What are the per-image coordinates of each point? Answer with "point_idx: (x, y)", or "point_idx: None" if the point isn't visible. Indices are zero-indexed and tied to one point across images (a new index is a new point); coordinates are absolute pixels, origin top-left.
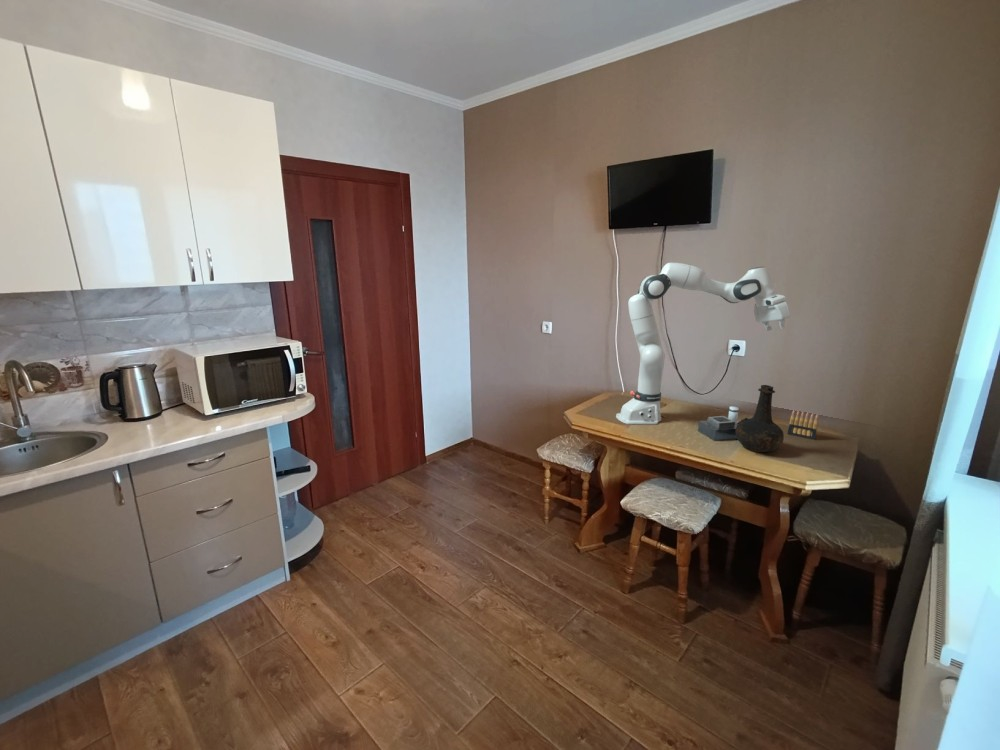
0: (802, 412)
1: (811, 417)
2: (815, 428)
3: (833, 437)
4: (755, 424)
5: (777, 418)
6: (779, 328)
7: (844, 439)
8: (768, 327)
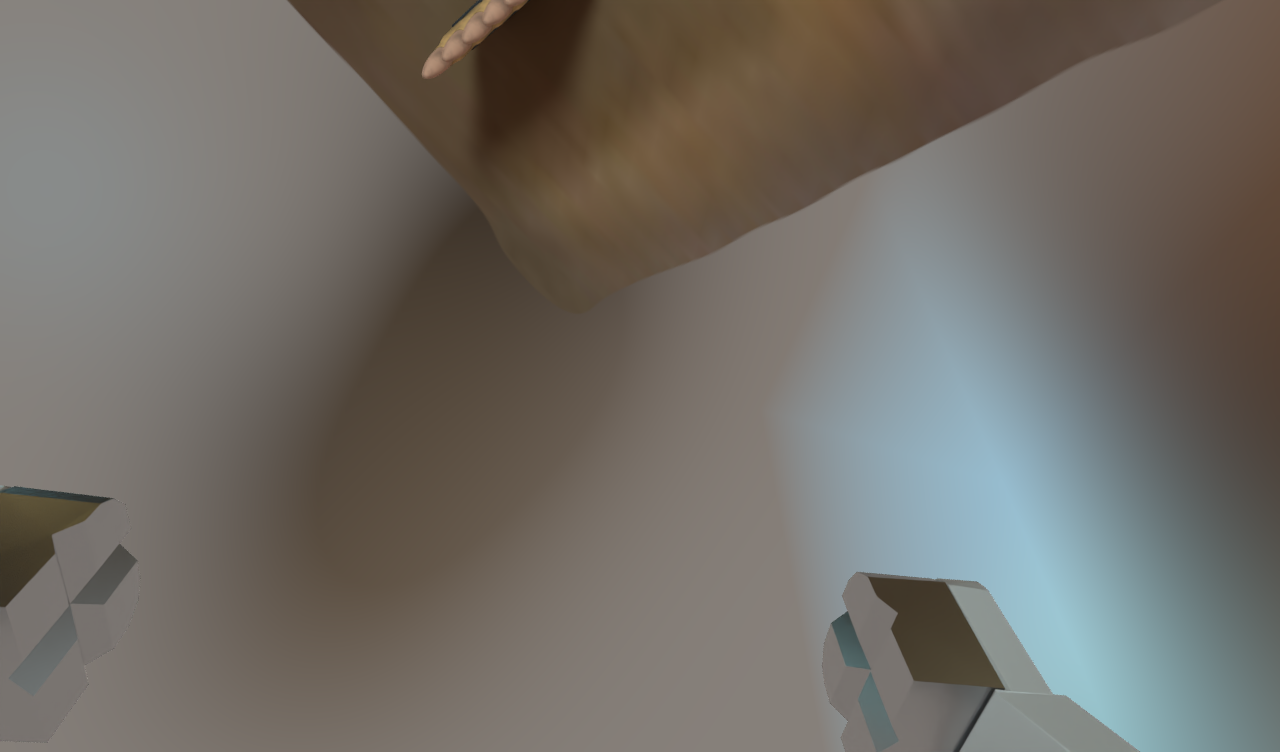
0: (485, 12)
1: (451, 36)
2: (454, 25)
3: (507, 145)
4: None
5: (868, 114)
6: (57, 513)
7: (477, 172)
8: (890, 686)
